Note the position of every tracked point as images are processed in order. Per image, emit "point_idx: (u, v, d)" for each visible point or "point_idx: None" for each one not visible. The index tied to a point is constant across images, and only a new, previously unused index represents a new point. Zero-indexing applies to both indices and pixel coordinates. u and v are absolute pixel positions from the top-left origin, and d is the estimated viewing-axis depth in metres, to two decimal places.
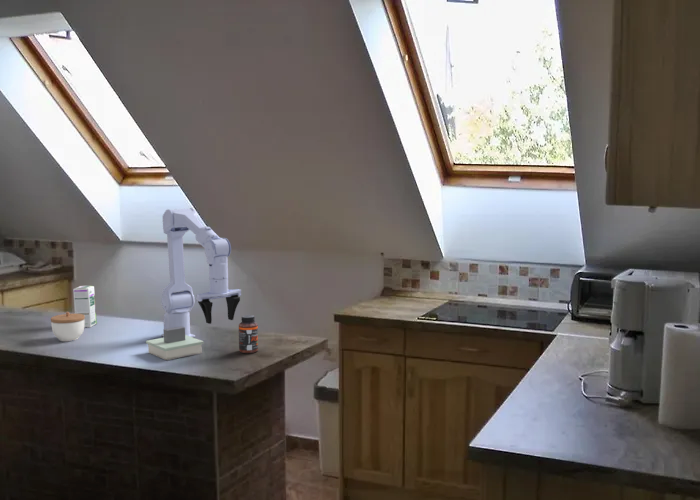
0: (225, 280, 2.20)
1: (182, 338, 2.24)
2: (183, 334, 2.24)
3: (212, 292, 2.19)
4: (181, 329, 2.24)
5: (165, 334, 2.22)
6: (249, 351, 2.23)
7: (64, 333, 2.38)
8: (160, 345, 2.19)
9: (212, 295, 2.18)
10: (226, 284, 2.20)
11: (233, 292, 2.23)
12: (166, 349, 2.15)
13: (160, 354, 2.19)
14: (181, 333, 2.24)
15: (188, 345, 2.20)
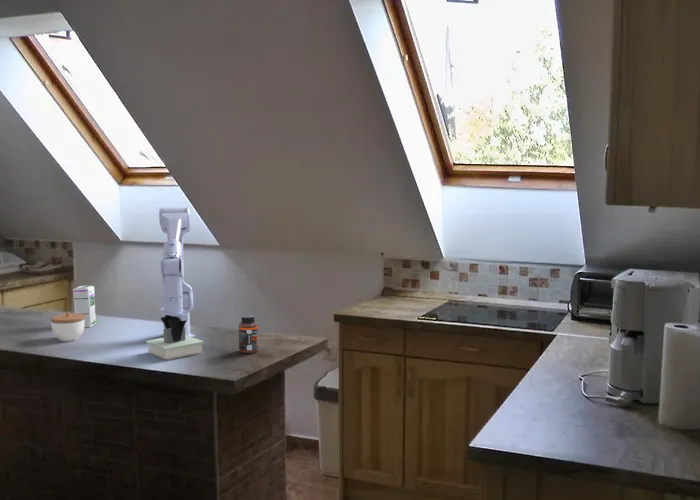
0: (166, 300, 2.20)
1: (182, 338, 2.24)
2: (183, 334, 2.24)
3: None
4: None
5: (165, 334, 2.22)
6: (249, 351, 2.23)
7: (64, 333, 2.38)
8: (160, 345, 2.19)
9: (162, 311, 2.24)
10: (167, 304, 2.20)
11: (174, 314, 2.19)
12: (166, 349, 2.15)
13: (160, 354, 2.19)
14: None
15: (188, 345, 2.20)
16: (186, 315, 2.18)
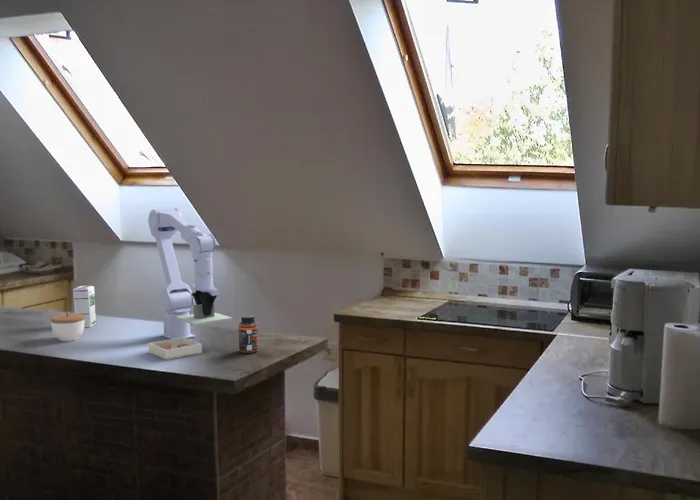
0: (197, 275, 2.27)
1: (211, 314, 2.31)
2: (212, 310, 2.31)
3: None
4: None
5: (195, 310, 2.29)
6: (249, 351, 2.23)
7: (64, 333, 2.38)
8: (190, 320, 2.26)
9: (193, 287, 2.31)
10: (198, 279, 2.27)
11: (205, 289, 2.26)
12: (196, 323, 2.22)
13: (160, 354, 2.19)
14: None
15: (217, 321, 2.27)
16: (216, 290, 2.25)
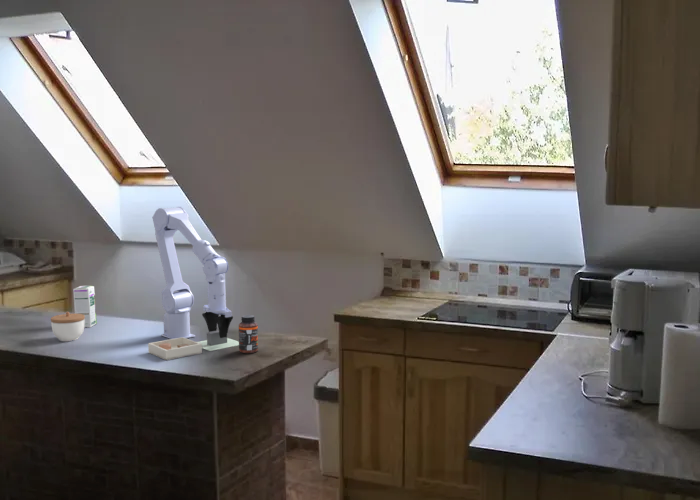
0: (211, 297, 2.31)
1: (224, 341, 2.36)
2: (225, 337, 2.36)
3: None
4: None
5: (208, 337, 2.33)
6: (249, 351, 2.23)
7: (64, 333, 2.38)
8: (204, 347, 2.30)
9: (206, 308, 2.35)
10: (212, 301, 2.31)
11: (219, 311, 2.30)
12: None
13: (160, 354, 2.19)
14: None
15: None
16: (230, 312, 2.29)
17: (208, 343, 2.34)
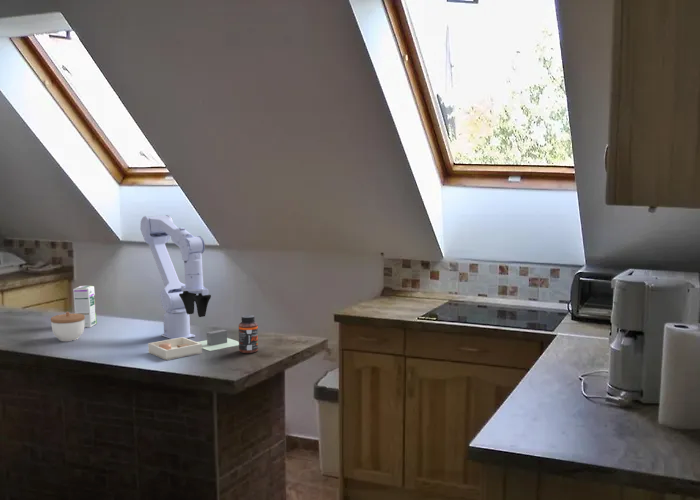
0: (187, 276, 2.31)
1: (224, 341, 2.36)
2: (225, 337, 2.36)
3: None
4: (223, 332, 2.35)
5: (208, 337, 2.33)
6: (249, 351, 2.23)
7: (64, 333, 2.38)
8: (204, 347, 2.30)
9: (184, 288, 2.35)
10: (189, 280, 2.31)
11: (195, 290, 2.30)
12: None
13: (160, 354, 2.19)
14: (223, 336, 2.35)
15: None
16: (207, 290, 2.29)
17: (208, 343, 2.34)
